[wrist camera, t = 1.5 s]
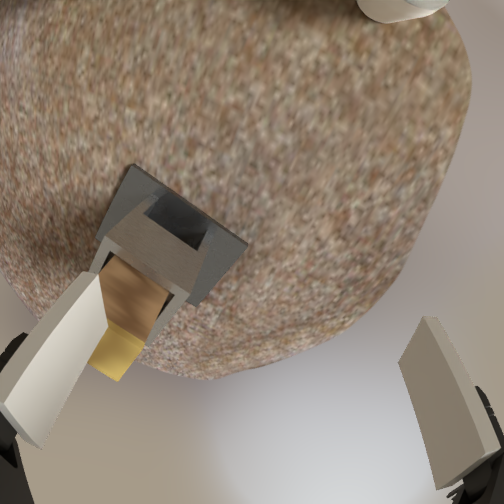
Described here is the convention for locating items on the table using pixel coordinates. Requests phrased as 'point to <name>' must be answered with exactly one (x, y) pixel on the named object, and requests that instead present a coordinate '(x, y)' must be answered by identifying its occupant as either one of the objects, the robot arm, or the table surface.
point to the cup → (399, 9)
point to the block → (125, 316)
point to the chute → (165, 242)
